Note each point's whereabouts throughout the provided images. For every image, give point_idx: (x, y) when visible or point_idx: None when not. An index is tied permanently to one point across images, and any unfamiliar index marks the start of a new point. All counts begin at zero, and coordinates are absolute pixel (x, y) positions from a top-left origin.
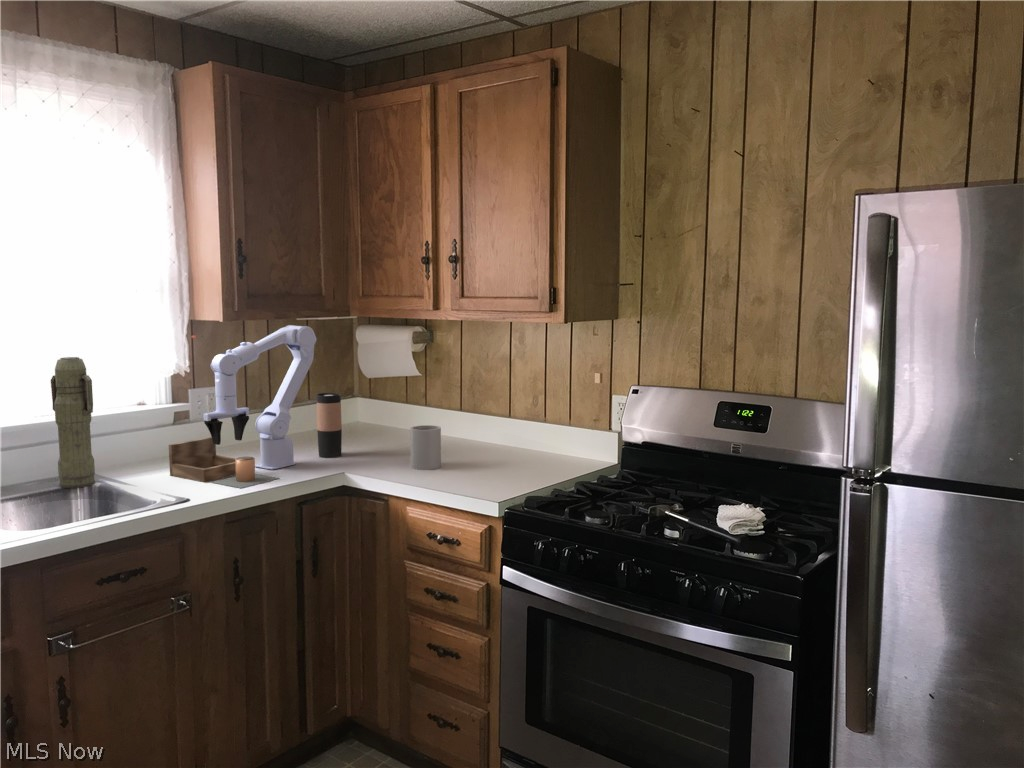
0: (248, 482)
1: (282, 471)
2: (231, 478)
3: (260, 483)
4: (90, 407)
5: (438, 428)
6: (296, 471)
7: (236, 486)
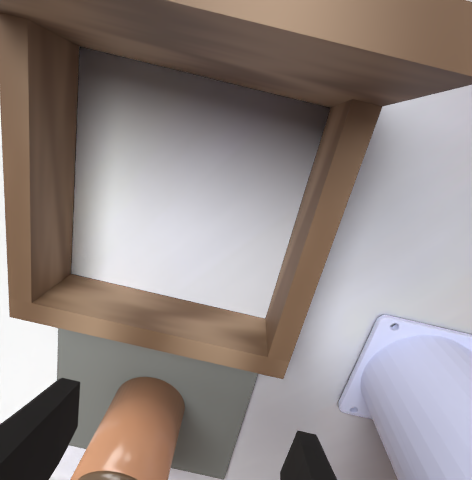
0: None
1: (330, 439)
2: (144, 350)
3: None
4: None
5: None
6: (343, 475)
7: None
